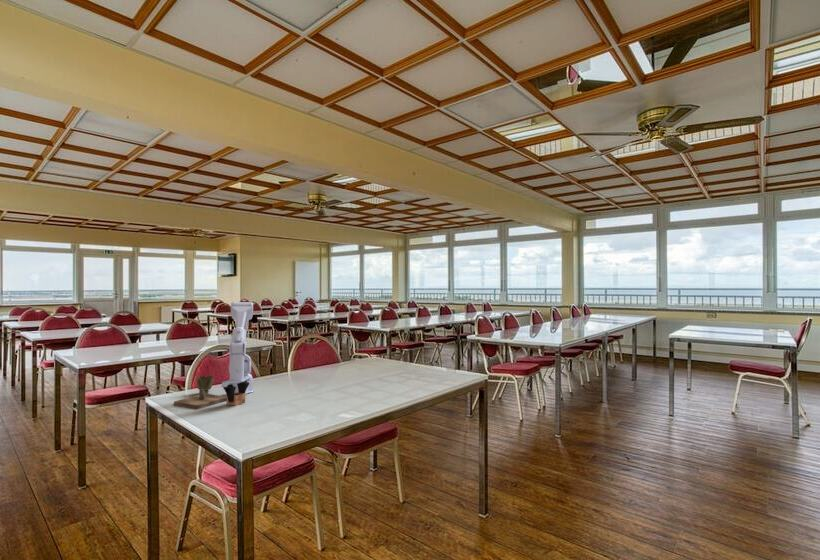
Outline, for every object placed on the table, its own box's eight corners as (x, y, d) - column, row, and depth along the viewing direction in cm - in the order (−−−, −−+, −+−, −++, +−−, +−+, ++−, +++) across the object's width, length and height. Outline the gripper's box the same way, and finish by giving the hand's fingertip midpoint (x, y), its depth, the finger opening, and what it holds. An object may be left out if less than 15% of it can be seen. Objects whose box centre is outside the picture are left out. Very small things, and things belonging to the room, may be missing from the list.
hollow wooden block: (235, 401, 191) (236, 392, 191) (245, 402, 188) (245, 393, 188) (226, 404, 186) (226, 394, 186) (235, 405, 183) (236, 396, 184)
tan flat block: (205, 396, 197) (205, 383, 197) (227, 400, 192) (228, 387, 192) (173, 404, 182) (174, 390, 183) (197, 409, 177) (197, 394, 177)
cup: (194, 395, 198) (194, 378, 198) (197, 392, 205) (198, 375, 205) (211, 395, 200) (212, 378, 200) (214, 391, 207) (214, 374, 207)
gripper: (230, 373, 179) (229, 405, 179) (255, 367, 192) (255, 397, 192) (218, 371, 182) (217, 403, 182) (244, 366, 195) (243, 395, 195)
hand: (236, 400), depth 187 cm, fingers closed on hollow wooden block, 5 cm apart
